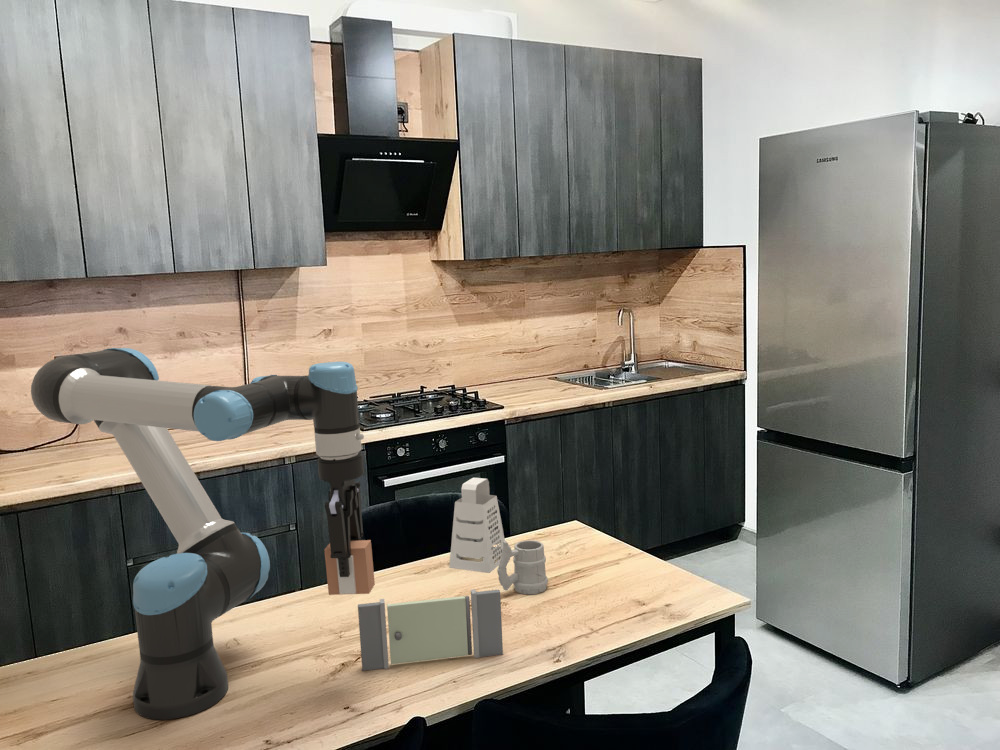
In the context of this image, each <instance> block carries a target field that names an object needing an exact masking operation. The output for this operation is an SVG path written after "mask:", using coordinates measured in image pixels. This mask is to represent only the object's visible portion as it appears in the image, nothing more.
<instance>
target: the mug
mask: <svg viewBox="0 0 1000 750" xmlns="http://www.w3.org/2000/svg"><path fill="white" fill-rule="evenodd" d="M513 547H514V549H512V548H511V545H510V544H509V542H507V541H503V551H502V555H501V559H500V558H499V560H500V563H499V565H498V566H497V568H496V569H497V570H496V572H497V575H498V582H499V584H500V586H501V587H502V589H503V591H508V590H509V589H510V588H511V586H512V585H513V586H514V590H515V591H516V592H517V593H518V594H522V595H530V596H531V595H537V594H540V593H543V592H545V591H546V590H547V585H548V583H549V579H548V577H547V573H546V560H547V557H546V556H545V547H544V543H542V542H540V541H538V540H535V539H534V540H533V539H531V540H530V539H528V540H527V539H526V540H521V541H519V542H516V543H515V544H514V546H513ZM512 557H513V558H512ZM511 558H512V559H513V560H512V561H513V565H514V566H513V567H514V572H513V573H512V574H511V575H509V574H508V571H507V566H508V563H509V562H510V560H511Z"/></svg>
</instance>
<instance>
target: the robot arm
mask: <svg viewBox="0 0 1000 750" xmlns="http://www.w3.org/2000/svg"><path fill="white" fill-rule="evenodd" d="M356 379H357V378H356V373H355V368H354V365H353V364H352V363H350V362H347V361H331V362H330V361H328V362H327V361H326V362H321V363H320V362H318V363H315V364H312V365H310V367H309V368H308V375H277V374H269V375H265V376H264V375H263V376H256V377H255V378H253V379H251V382H250V383H246V384H242V385H238V386H219V385H211V384H200V383H199V384H198V383H191V382H190V383H188V382H177V381H165V380H160V376H159V373H158V371H157V368H156V366H155V364H154V363H153V362H152V360H151V359H150V358H149V357H148V356H146V355H145V354H144V353H143V352H141V351H139V350H136V349H134V348H129V347H122V348H121V347H120V348H119V347H110V348H106V349H102V350H96V351H91V352H86V353H78V354H72V355H71V354H70V355H64V356H59V357H57V358H54V359H52V360H50V361H48V362H46V363H45V364H44V365H42V366H41V367H40V368H39V369H38V370H37V372H36V373H35V375H34V376H33V379H32V382H31V386H30V394H31V395H30V396H31V400H32V402H33V405H34V407H35V408H36V409H37V411H38V412H39V413H41V414H42V416H44V417H46V418H47V419H50V420H51V421H54V422H57V423H63V424H64V423H65V424H73V425H86V424H89V423H91V422H93V421H94V423H95V425H96V426H97V428H98V430H99V432H101V433H106V434H110V435H112V436H113V437H114V439H115V441H116V442H117V444H118V446H119V447H120V449H121V451H122V452H123V453H124V455H125V457H126V459H127V461H128V462H129V464H130V465H131V467H132V468H133V470H134V472H135V474H136V475H137V477H138V478H139V480H140V482H141V484H142V485H143V487H144V489H145V491H146V492H147V494H148V495H149V497H150V499H151V500H152V502H153V504H154V505H155V507H156V509H157V510H158V511H159V513H160V516H161V517H162V518H163V520H164V522H165V523H166V525H167V526H168V529H169V530H170V531H171V533H172V535H173V537H174V538H175V540H176V542H177V543H178V547H177V551H176V553H175V554H174V553H172V554H170V555H169V556H166V557H165V556H164V557H160V558H157V559H156V560H154V561H151V562H150V563H148V564H146V565H145V566H143V567H142V568H141V569H140V570H139V571H138V573H137V574H136V575H135V577H134V579H133V584H132V587H133V588H132V590H133V591H132V592H133V593H132V594H133V595H132V605H133V609H134V615H135V625H136V633H137V640H138V648H139V658H140V662H139V666H138V671H137V675H136V679H135V682H134V687H133V692H132V701H133V708H134V710H135V712H136V713H137V714H138V715H139V716H140V717H143V718H146V719H150V720H162V721H163V720H173V719H179V718H184V717H188V716H192V715H195V714H198V713H201V712H203V711H204V710H207V709H208V708H210V707H213V706H214V705H215V704H217V703H218V702H219V701H220V700H222V699H223V698H224V696H226V694H227V692H228V690H229V680H228V674H227V673H228V672H227V670H226V668H225V666H224V664H223V661H222V660H221V658H220V655H219V654H218V651H217V649H216V648H215V645H214V638H213V627H212V622H213V621H215V620H217V619H218V618H219V617H221V616H223V615H225V614H226V613H228V612H229V611H231V610H233V609H234V608H236V607H238V606H239V605H240V604H242V603H245V602H247V601H248V600H250V599H251V598H252V597H253V596H254V595H255V594H257V593H258V592H259V591H260V590H262V589H263V587H265V585H266V582H267V581H268V579H269V572H270V570H271V564H270V563H271V561H270V556H269V553H268V549H267V548H266V546H265V544H264V543H263V542H262V540H261V539H260V538H258V537H257V536H256V535H252V534H251V533H250V532H241V531H240V529H239V528H238V526H237V525H236V523H235V522H234V521H233V520H227V519H223V518H222V517H221V514H220V513H219V511H218V509H217V508H216V506H215V505H214V503H213V502H212V500H211V498H210V497H209V494H208V493H207V492H206V490H205V489H204V487H203V485H202V484H201V481H200V480H199V479H198V477H197V475H196V473H195V472H194V470H193V469H192V467H191V465H190V464H189V462H188V460H187V459H186V457H185V456H184V454H183V452H182V451H181V449H180V447H179V446H178V444H177V443H176V441H175V439H174V438H173V436H172V434H171V433H170V431H169V429H172V430H173V429H174V430H179V431H181V430H182V431H192V432H198V433H200V434H201V435H202V436H203V437H205V438H206V439H207V440H209V441H213V442H222V441H226V440H234V439H237V438H240V437H242V436H244V435H246V434H249V433H252V432H255V431H258V430H260V429H264V428H267V427H270V426H273V425H276V424H279V423H281V422H282V423H283V422H285V421H292V420H293V421H295V420H296V421H297V420H298V421H300V420H303V421H304V420H305V421H313V429H314V431H313V432H314V433H313V434H314V443H315V454H316V456H318V458H317V462H316V463H317V473H318V474H317V475H318V478H319V479H320V481H321V482H327V483H328V484H329V485H330V486H329V491H328V501H325V503H324V509H325V513H326V518H327V519H326V520H327V527H328V538H329V539H328V540H329V543H330V548H331V555H330V557H331V558H336V561H337V572H338V582H339V593H340V594H341V595H356V594H355V593H356V583H355V572H354V560H353V555H351V543H350V541H360V540H366V538H363V537H364V530H363V529H364V528H363V527H364V526H363V517H362V515H363V513H362V502H361V501H362V500H361V482H360V481H355V480H357V479H359V478H362V476H363V475H364V473H365V469H364V457H363V454H362V453H361V451H362V450H363V449H362V448H363V447H362V440H364V438H365V436H364V434H363V433H361V428H360V427H361V425H360V417H359V404H358V403H359V402H358V390H359V389H358V385H357V380H356Z"/></svg>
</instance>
